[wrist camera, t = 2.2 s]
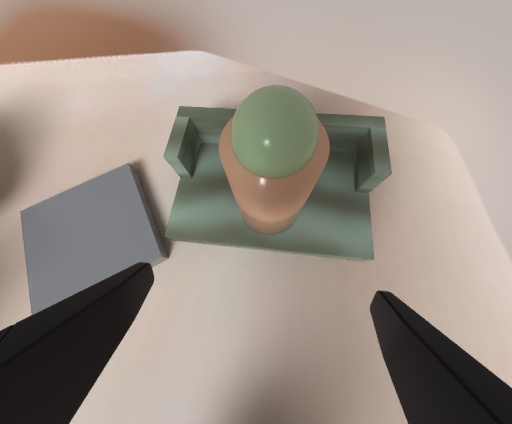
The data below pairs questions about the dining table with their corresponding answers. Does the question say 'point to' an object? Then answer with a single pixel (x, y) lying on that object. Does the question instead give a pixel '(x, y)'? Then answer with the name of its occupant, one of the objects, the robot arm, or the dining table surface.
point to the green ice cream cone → (273, 157)
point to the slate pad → (88, 236)
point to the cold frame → (314, 210)
